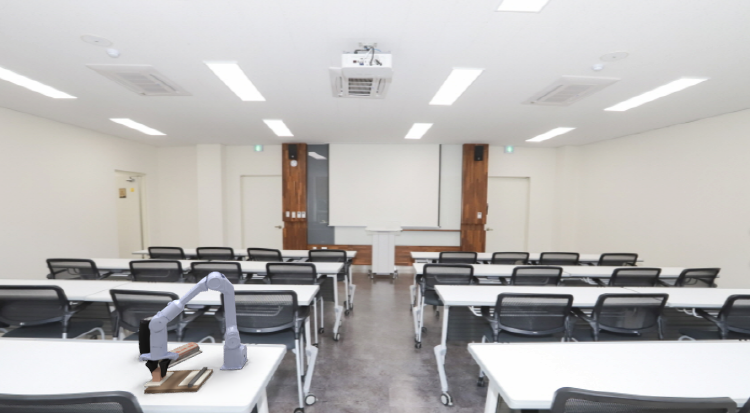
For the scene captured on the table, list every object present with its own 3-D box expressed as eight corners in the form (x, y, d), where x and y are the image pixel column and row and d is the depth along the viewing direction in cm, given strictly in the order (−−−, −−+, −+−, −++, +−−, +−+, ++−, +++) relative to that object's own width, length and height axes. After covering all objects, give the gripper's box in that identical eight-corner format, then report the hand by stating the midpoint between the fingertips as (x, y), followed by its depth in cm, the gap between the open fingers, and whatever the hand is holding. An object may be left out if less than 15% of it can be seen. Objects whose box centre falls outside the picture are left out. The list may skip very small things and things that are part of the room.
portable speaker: (166, 353, 144) (166, 314, 144) (147, 363, 135) (146, 321, 135) (154, 350, 147) (153, 312, 146) (134, 360, 138) (133, 319, 137)
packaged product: (190, 339, 149) (202, 343, 145) (190, 348, 150) (202, 353, 145) (150, 355, 133) (162, 361, 129) (150, 366, 133) (162, 372, 129)
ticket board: (213, 372, 128) (213, 365, 128) (196, 391, 115) (196, 384, 115) (166, 374, 127) (166, 367, 127) (144, 393, 114) (144, 386, 114)
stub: (173, 372, 125) (173, 362, 125) (159, 386, 116) (159, 375, 116) (159, 373, 124) (159, 363, 124) (143, 386, 115) (143, 375, 115)
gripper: (182, 338, 124) (183, 370, 125) (147, 340, 123) (148, 371, 124) (172, 347, 117) (172, 380, 117) (135, 348, 116) (135, 381, 117)
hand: (159, 376), depth 120 cm, fingers closed on stub, 3 cm apart
